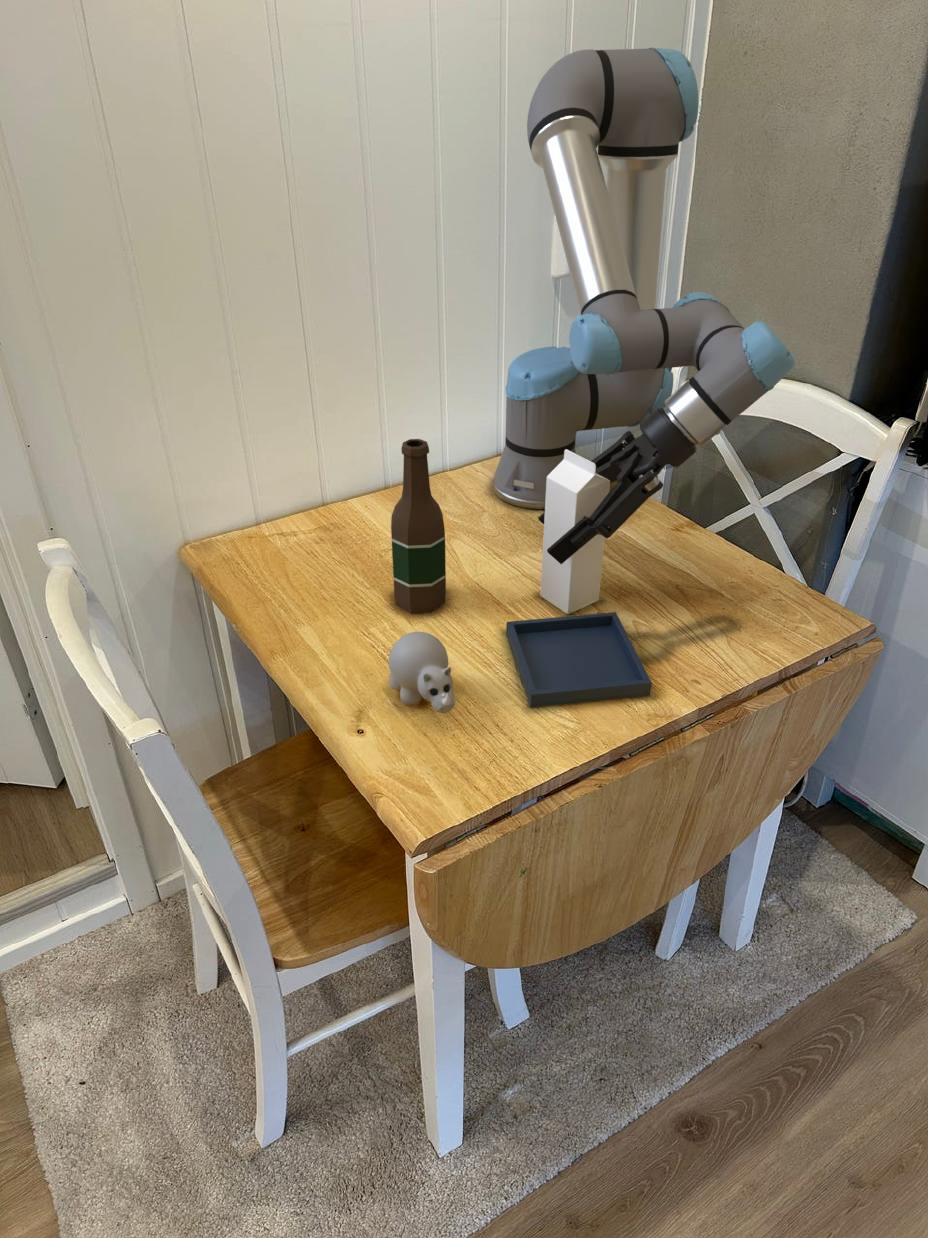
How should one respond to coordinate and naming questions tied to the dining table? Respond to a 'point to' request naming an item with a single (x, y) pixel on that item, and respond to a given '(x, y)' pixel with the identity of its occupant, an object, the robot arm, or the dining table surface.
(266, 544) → the dining table surface
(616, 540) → the dining table surface
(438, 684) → the toy rhinoceros
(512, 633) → the tray
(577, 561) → the milk
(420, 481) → the beer bottle
